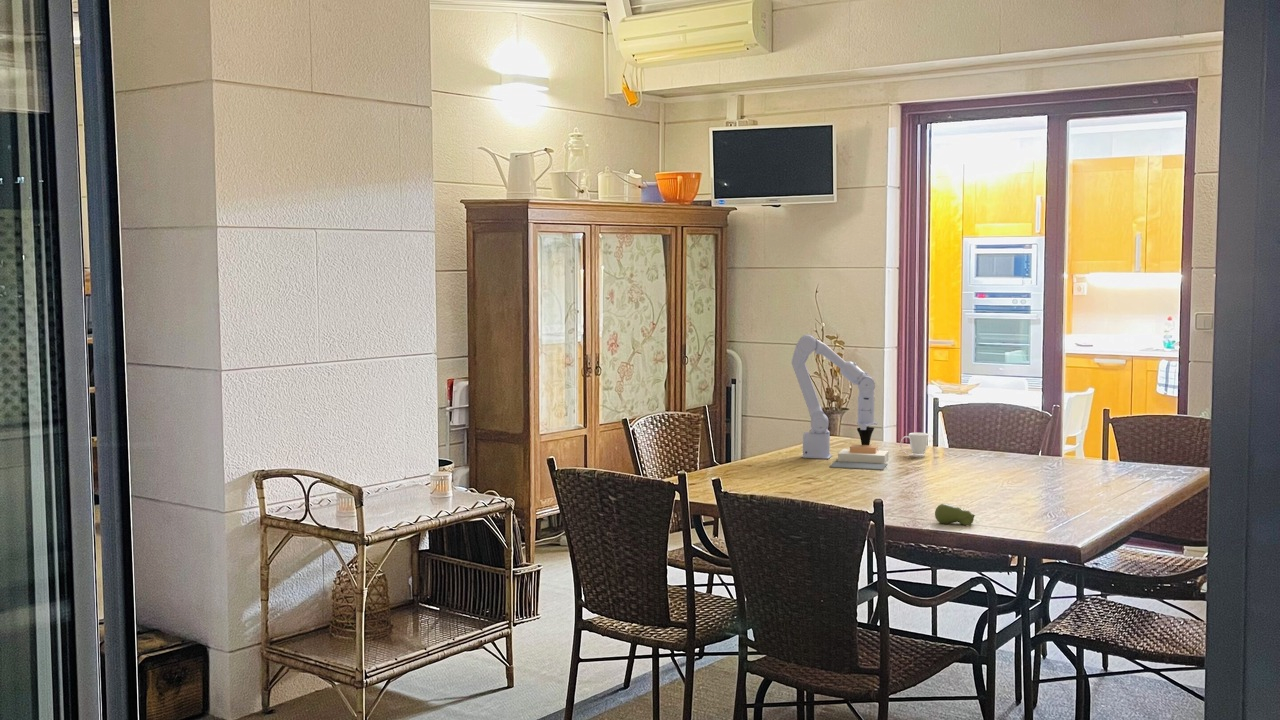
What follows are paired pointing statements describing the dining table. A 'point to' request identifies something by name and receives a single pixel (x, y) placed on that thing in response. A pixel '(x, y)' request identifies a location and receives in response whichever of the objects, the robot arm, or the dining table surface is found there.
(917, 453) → the cup
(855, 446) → the tile
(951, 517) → the pear
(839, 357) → the robot arm
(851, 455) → the cream flat block
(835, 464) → the mat
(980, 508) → the dining table surface
